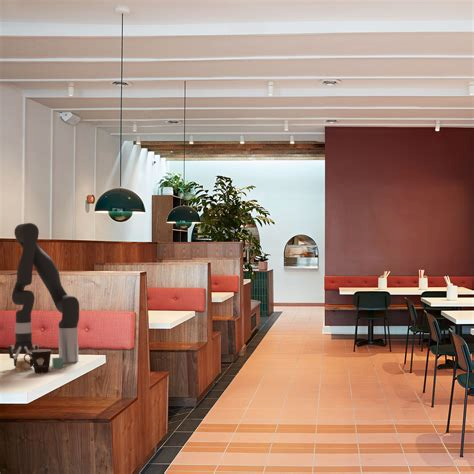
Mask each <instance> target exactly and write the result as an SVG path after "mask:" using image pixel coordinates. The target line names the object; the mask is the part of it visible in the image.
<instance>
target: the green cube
mask: <svg viewBox="0 0 474 474" xmlns="http://www.w3.org/2000/svg"><path fill="white" fill-rule="evenodd" d="M51 366H52V369H63V368H64V363H63V358H62V357H59V356H58V357H52V365H51Z"/></svg>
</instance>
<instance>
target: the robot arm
mask: <svg viewBox="0 0 474 474" xmlns="http://www.w3.org/2000/svg"><path fill="white" fill-rule="evenodd" d="M39 233H40V232H39V228H38V226H37V225H36V223H33V222H25V223H20V224H18V225H16V227H15V228H14V236H15V239H16V241H17V242H18V244H19V245H20V246H21V247H22V252H21V255H20V256H21V257H20V258H19V262H18V265H17V269H16V270H17V271H16V281H15V284H14V288H13V290H12V294H11V300H12V302H13V304H15V305H17V306H22V308H21V309H18V310H17V311H16V312H15V326H14V335H15V337H14V338H15V339H14V340H15V342H14V344H12V345H8V354H9V358H10V359H13V365H14V367H15V368H16V361H17V360H18V357H19V356H20V354H28V353H29V354H32V350H31V349H32V348H33V350H38V349H39V348H40V347H39V344H33V341H32V339H33V337H32V336H33V333H32V329H33V328H32V327H33V326H32V311H33V309H34V308H33V307H34V303H35V299H36V298H35V294H34V292H33V291H32V290H29V289H28V290H27V289H26V287H27V286H30V285H32V282H33V268H34V269H35V270H36V273H37V274H38V276H39V278H40V279H41V281H42V283H43V284H44V286H45V287H46V289H47V291H48V292H49V295H50V296H51V299H52V301H53V304H54V306H55V308H56V309H57V311H58V312H59V313H60V314H61V320H60V321H59V322H58V358H59V357H62V358H63V364H69V363H70V364H71V363H78V361H79V340H78V339H79V338H78V325H79V321H80V302H79V299H78V298H77V297H76V296H73V295H69V294H68V293H67V292H66V290H65V289H64V287H63V285H62V282H61V276H60V272H59V270H58V268H57V266H56V264H55V262H54V260H53V259H52V257H50V256H49V254H47V253H46V252H45V250H43V249H42V248H41V247H40V245H39V244H38V240H39V235H40V234H39ZM25 289H26V290H25ZM14 349H16V352H15V354H14V351H13V350H14ZM28 358H30V364H32V365H34V364H33V358H32V357H31V356H30V355H28ZM30 367H31V368H32V367H33V366H31V365H30Z"/></svg>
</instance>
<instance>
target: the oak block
mask: <svg viewBox="0 0 474 474" xmlns="http://www.w3.org/2000/svg"><path fill="white" fill-rule="evenodd" d="M17 359H18V360H17V361H16V367H15V371H30V370H31V368H32V367H30V364H28V363H27V362H29V363H30V357H25V360H26V361H27V362H26V361H25V360H24V357H21V358H18V357H17Z"/></svg>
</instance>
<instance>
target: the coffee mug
mask: <svg viewBox="0 0 474 474" xmlns="http://www.w3.org/2000/svg"><path fill="white" fill-rule="evenodd" d="M31 352H32V354H29V352H28V354H27V353H24V356H23V358H24V360H25V358H26V356H29V355H30V356H31V357H32V358H33V365H32V364H30V363H29V362H27V361H26V360H25V361H26V362H27V363H28V364H30V365H31V366H32V367H33V370H34V374H48V373H49V372H50V364H51V356H52V355H51V354H52V350H51V349H50V348H48V349H47V348H42V349H41V348H40V349H39V348H38V350H35V349H33V350H31Z"/></svg>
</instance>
